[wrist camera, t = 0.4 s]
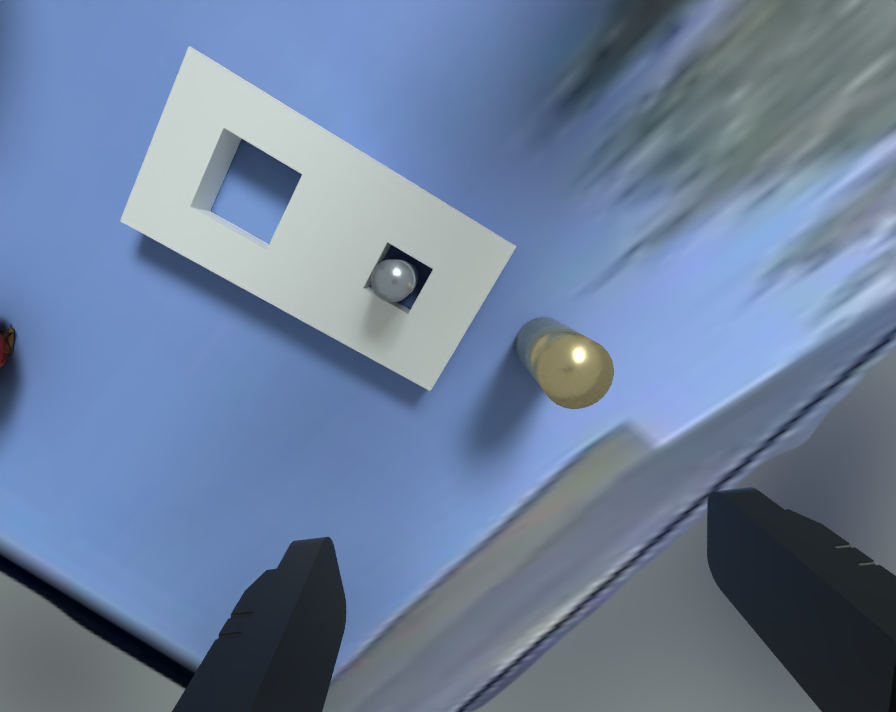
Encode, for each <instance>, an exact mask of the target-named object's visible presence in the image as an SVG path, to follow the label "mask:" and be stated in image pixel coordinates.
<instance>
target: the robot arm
mask: <svg viewBox="0 0 896 712" xmlns="http://www.w3.org/2000/svg"><path fill="white" fill-rule="evenodd" d="M707 518H708V519H707V521H708V522H707V525H708V526H707V558H708V564H709V567H710V570H711V573H712V576H713V578H714V580H715V582H716V583H717V585H718V587H719V588H720V590H721V591H722V592H723V593H724V594H725V596H726V597H727V598H728V599H729V601H730V602H731V603H732V604H733V605H734V607H735V608H736V609H737V610H738V611H739V613H740V614H741V615H742V616H743V617H744V619H745V620H746V621H747V622H748V623H749V625H750V626H751V627H752V628H753V629H754V631H755V632H756V633H757V634H758V635H759V637H760V638H761V639H762V640H763V641H764V643H765V644H766V645H767V646H768V647H769V649H770V650H771V651H772V652H773V653H774V655H775V656H776V657H777V658H778V659H779V661H780V662H781V663H782V664H783V665H784V667H785V668H786V669H787V670H788V671H789V673H790V674H791V675H792V676H793V677H794V678H795V680H796V681H797V682H798V684H799V685H800V686H801V687H802V688H803V690H804V691H805V692H806V693H807V694H808V696H809V697H810V698H811V699H812V700H813V701H814V703H815V704H816V705H817V706H818V707H819V709H820V710H821V711H822V712H896V576H895V575H893V574H892V573H890V572H889V571H888V570H886V569H885V568H884V567H882V566H880V565H875V563H874V561H873V560H872V559H871V558H869V557H868V556H866V555H865V554H864V553H862V552H861V551H859V550H858V549H856V548H851V546H850V544H849V543H848V542H847V541H845V540H844V539H842V538H841V537H839V536H838V535H837V534H835V533H834V532H832V531H831V530H830V529H828V528H827V527H825V526H824V525H822V524H821V523H818V522H816V521H814V520H811V519H809V518H807V517H805V516H802V515H800V514H798V513H796V512H793V511H791V510H789V509H788V510H784V509H783V508H781V507H780V506H779V505H777V504H776V503H775V502H773V501H772V500H771V499H769V498H768V497H767V496H765V495H764V494H762V493H761V492H760V491H758V490H757V489H755V488H751V487H749V488H740V489H731V490H723V491H715V492H712V493H711V494H710V495H709V497H708V514H707ZM345 623H346V599H345V594H344V589H343V585H342V580H341V576H340V571H339V567H338V562H337V558H336V553H335V548H334V545H333V542H332V540H331V538H330V537H323V538H315V539H307V540H298V541H293V542H292V543H291V544H290V546H289V547H288V549H287V551H286V553H285V555H284V557H283V558H282V560H281V562H280V564H279V566H278V568H277V569H272V570H266V571H265V572H264V573H263V574H262V575H261V576H260V577H259V578H258V579H257V580H256V581H255V582H254V583H253V584H252V585H251V586H250V587H249V588H247V589H246V590H245V592H244V593H243V595H242V597H241V598H240V600H239V602H238V603H237V605H236V607H235V608H234V610H233V612H232V613H231V618H230V619H228V620H227V622H226V623H225V625H224V627H223V628H222V630H221V632H220V633H219V638H218V639H216V640H215V641H214V643H213V645H212V646H211V648H210V650H209V651H208V653H207V655H206V656H205V658H204V660H203V661H202V663H201V665H200V666H199V668H198V670H197V671H196V673H195V674H194V676H193V678H192V679H191V681H190V683H189V684H188V686H187V688H186V689H185V691H184V693H183V694H182V696H181V698H180V699H179V701H178V703H177V704H176V706H175V708H174V709H173V711H172V712H322V710H323V707H324V703H325V699H326V696H327V692H328V688H329V685H330V681H331V678H332V674H333V670H334V667H335V663H336V659H337V656H338V652H339V648H340V645H341V641H342V637H343V634H344V629H345Z"/></svg>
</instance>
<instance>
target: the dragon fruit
mask: <svg viewBox="0 0 896 712" xmlns="http://www.w3.org/2000/svg"><path fill="white" fill-rule="evenodd" d="M13 343H14V330H13V327H12V325H10V327H9V329H7V331H6V332H2V333H0V367H1V366H2V365H4V364H5V362H6V358H7V355H8V354H11V353H12V351H13Z"/></svg>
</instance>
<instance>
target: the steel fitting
mask: <svg viewBox="0 0 896 712" xmlns="http://www.w3.org/2000/svg"><path fill="white" fill-rule="evenodd" d="M418 280H419V275H418V271H417V269H416V267H415V266H414V265H413V264H412V263H410V262H409V261H406V260H385V261H382V262H381V263H379V264H378V265H377V266H376V267H375V268H374V270H373V272H372V274H371V286H372V289H373V291H374V293H375V294H376V295H377V296H378V297H379V298H380V299H382V300H384V301H387V302H398V301H401V300H403V299H404V298H406V297H407V296H408V295H409V294H410V293H411V292H412V291H413V290H414V289H415V288H416V286H417V284H418Z"/></svg>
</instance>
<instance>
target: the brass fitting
mask: <svg viewBox="0 0 896 712" xmlns="http://www.w3.org/2000/svg"><path fill="white" fill-rule="evenodd" d="M515 349H516V353H517V355H518V358H519V359H520V361H521V362H522V363H523V364H524V366H525V367H526V368H527V370H528V371H529V372H530V374H531V375H532V376H533V378H534V379H535V380H536V382H537V383H538V384H539V385H540V387H541V388H542V389H543V391H544V392H545V393H546V395H547V396H548V397H549V398H550V399H551V400H552V401H553V402H554V403H556V404H558V405H560V406H562V407H565V408H570V409H580V408H585V407H588V406H590V405H593V404H594V403H596V402H598V401H599V400H600V399H601V398H602V397H603V396H604V395H605V394H606V393H607V391H608V390H609V388H610V386H611V384H612V380H613V375H614V368H613V362H612V359H611V357H610V355H609V353H608V352H607V351H606V350H605V348H603V347H602V346H601V345H600V344H598V343H596V342H595V341H593V340H591V339H589V338H587V337H585V336H583V335H582V334H580V333H578V332H576V331H574V330H572V329H570V328H569V327H567V326H565V325H563V324H561V323H559V322H557V321H555V320H553V319H551V318H536V319H533V320H531V321H529V322H527V323H526V324H525V325H524V326H523V327H522V328H521V329H520V331H519V332H518V334H517V337H516V342H515Z"/></svg>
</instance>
